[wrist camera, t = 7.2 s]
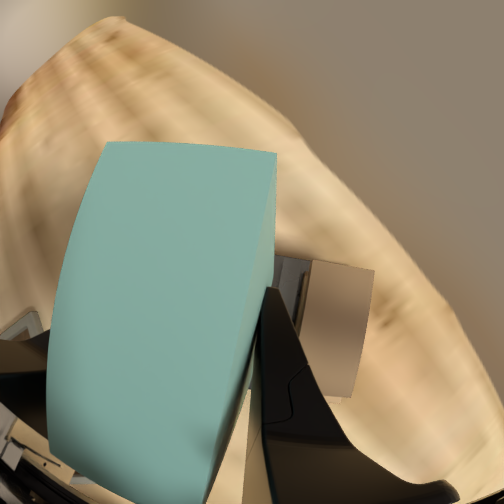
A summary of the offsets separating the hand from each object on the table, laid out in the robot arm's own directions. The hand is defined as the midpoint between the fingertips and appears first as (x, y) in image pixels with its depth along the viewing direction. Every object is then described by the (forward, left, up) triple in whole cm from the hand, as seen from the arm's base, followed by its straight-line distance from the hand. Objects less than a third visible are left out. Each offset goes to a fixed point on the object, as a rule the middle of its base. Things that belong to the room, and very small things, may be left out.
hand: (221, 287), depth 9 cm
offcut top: (-3, -5, -8) cm, 10 cm away
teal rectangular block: (-1, 0, -6) cm, 6 cm away
